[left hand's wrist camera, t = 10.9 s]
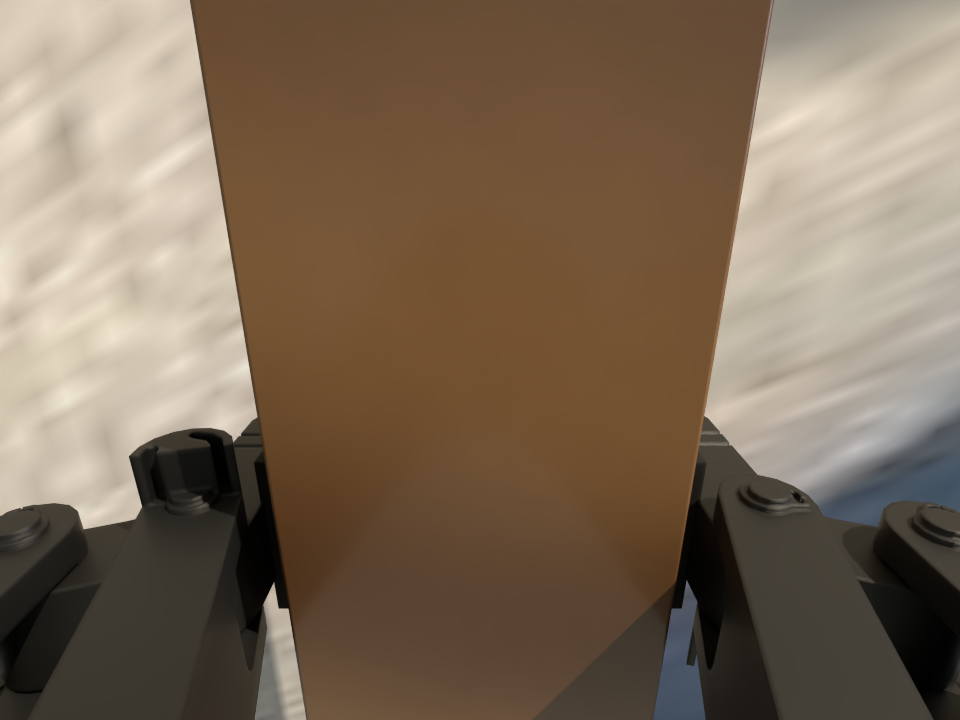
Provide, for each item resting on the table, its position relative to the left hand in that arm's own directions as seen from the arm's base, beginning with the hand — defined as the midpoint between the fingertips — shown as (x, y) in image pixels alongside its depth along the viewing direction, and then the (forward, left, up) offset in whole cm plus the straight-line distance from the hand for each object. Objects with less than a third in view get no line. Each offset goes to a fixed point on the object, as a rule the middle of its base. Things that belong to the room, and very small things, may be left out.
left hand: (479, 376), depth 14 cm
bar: (+9, +29, -1) cm, 30 cm away
